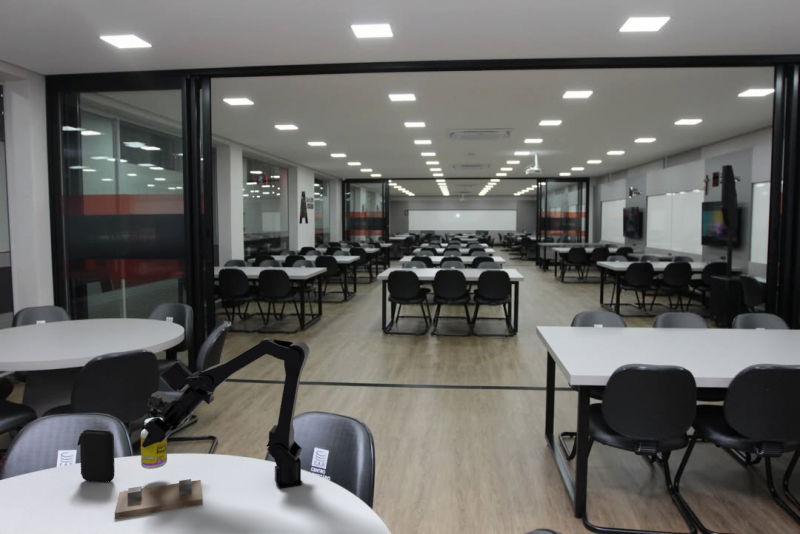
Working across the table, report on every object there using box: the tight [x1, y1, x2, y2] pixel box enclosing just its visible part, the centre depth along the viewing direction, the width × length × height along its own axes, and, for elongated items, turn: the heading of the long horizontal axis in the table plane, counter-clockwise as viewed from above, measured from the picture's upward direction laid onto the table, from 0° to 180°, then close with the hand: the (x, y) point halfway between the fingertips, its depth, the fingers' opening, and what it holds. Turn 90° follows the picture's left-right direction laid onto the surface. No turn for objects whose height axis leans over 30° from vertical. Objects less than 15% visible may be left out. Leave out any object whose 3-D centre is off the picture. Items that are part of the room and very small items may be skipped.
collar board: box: [114, 478, 203, 520], centre depth 141 cm, size 20×12×4 cm, turn 112°
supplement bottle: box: [140, 416, 168, 470], centre depth 153 cm, size 7×7×13 cm
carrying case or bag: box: [77, 428, 115, 483], centre depth 152 cm, size 11×3×15 cm, turn 83°
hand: (149, 441), depth 153 cm, fingers closed on supplement bottle, 7 cm apart
